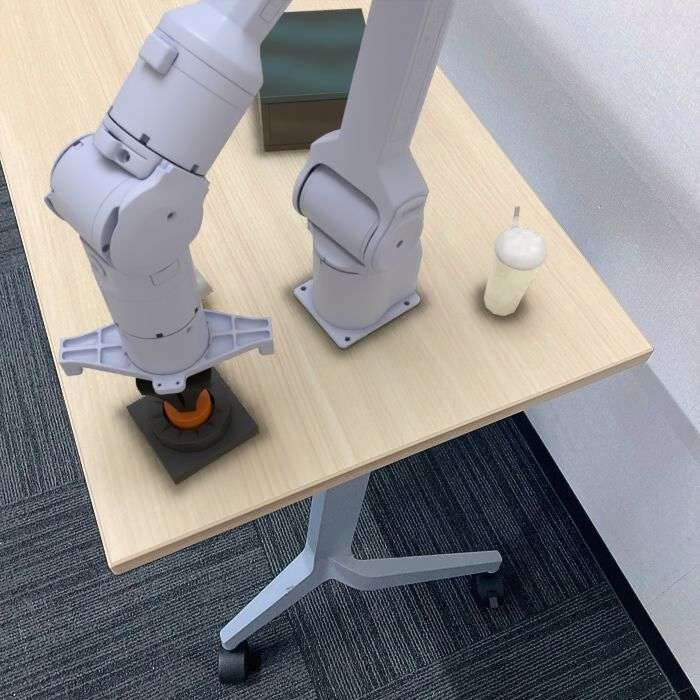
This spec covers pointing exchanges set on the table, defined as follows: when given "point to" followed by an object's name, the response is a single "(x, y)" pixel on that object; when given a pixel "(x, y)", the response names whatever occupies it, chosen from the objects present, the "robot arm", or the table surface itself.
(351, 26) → the lid
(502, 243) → the milkshake
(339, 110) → the box
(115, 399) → the table surface
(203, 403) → the button
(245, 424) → the switch block
